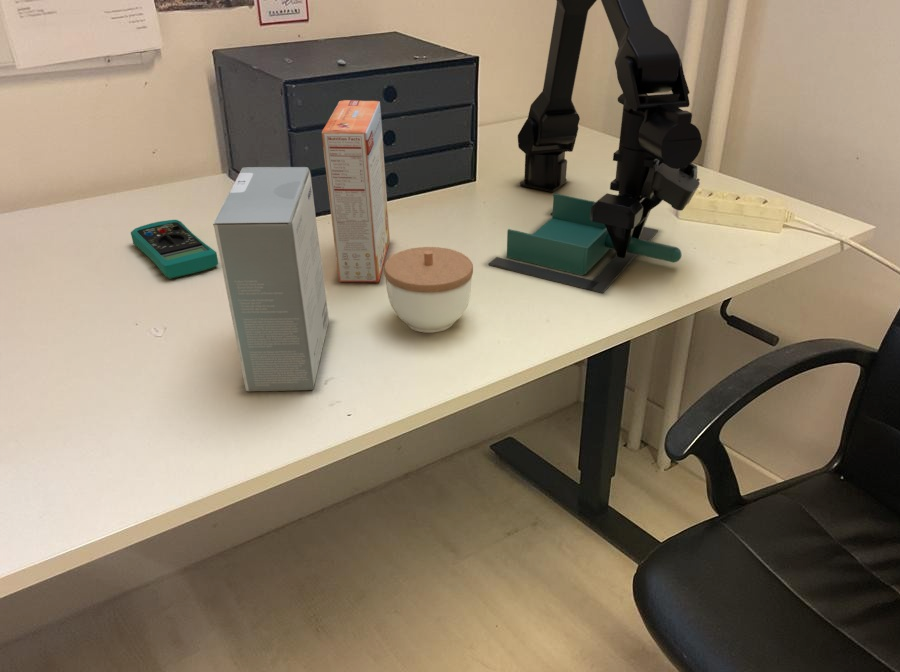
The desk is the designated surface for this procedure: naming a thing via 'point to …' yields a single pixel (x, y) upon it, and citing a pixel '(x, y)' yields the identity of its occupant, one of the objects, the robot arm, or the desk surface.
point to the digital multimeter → (174, 248)
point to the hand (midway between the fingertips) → (627, 250)
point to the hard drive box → (274, 277)
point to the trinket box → (429, 287)
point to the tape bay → (596, 284)
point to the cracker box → (357, 189)
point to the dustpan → (575, 240)
